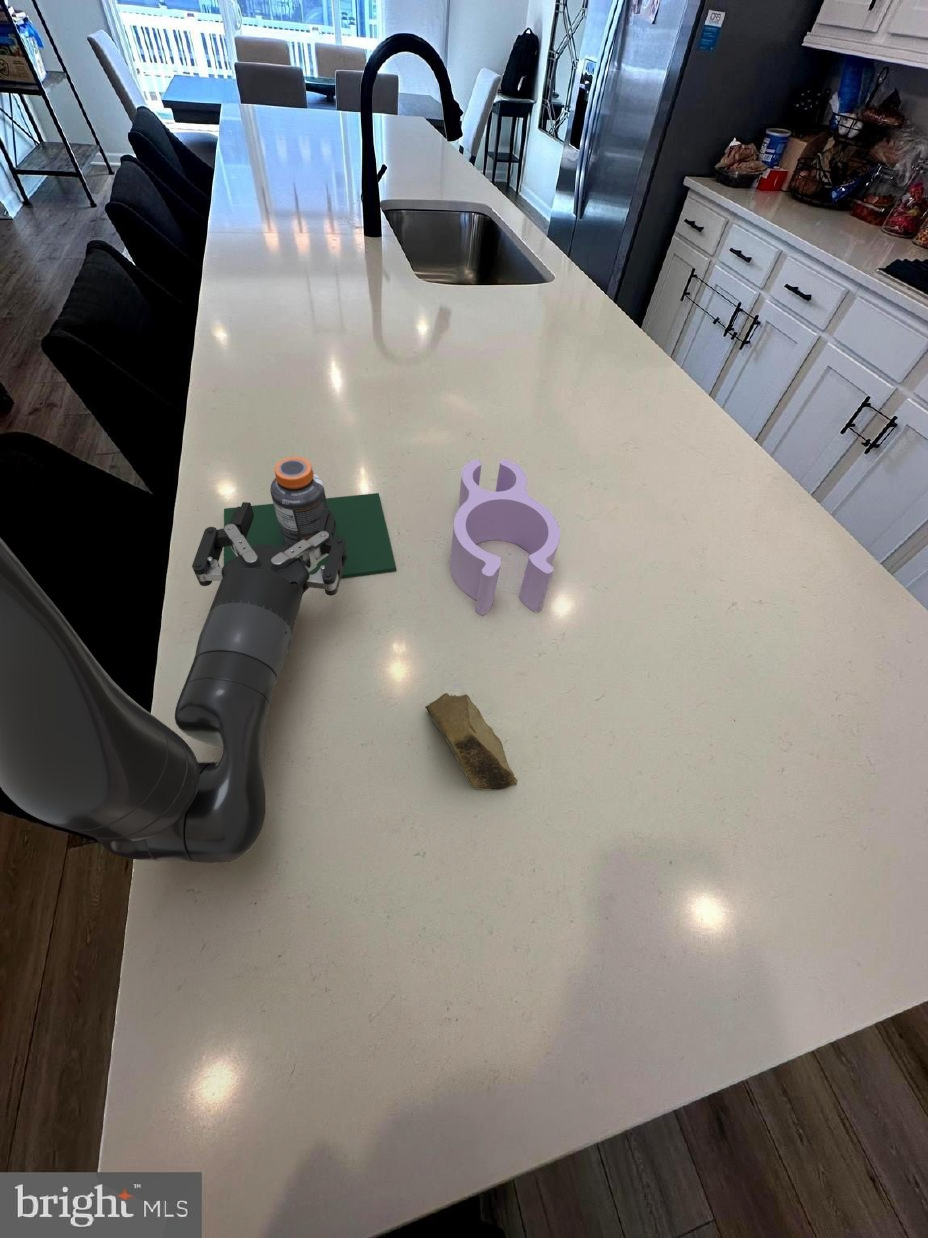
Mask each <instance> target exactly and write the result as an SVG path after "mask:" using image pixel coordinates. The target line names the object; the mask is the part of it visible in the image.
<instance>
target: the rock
mask: <svg viewBox="0 0 928 1238" xmlns="http://www.w3.org/2000/svg"><path fill="white" fill-rule="evenodd" d="M424 708H425V709H426V712H427V714H428V715H429V716H430V718H431V719H432V721H433V723H434V724H435V725H436V726H437V728H438V729H439V731H440V733H441V735H442V736H443V738H444V739H445V741H446V742H447V744H448V745H449V747H450V748H451V751H452V754H453V756H454V757H455V758H456V760H457V762H458V765H459V767H461V769H462V771H463V772H464V773H465V776H466V778H467V781H468V783H469V785H470V786H471V787H472V788H473V789H475V790H483V791H484V790H487V791H489V790H491V791H492V790H493V791H494V790H495V791H496V790H497V791H498V790H504V789H507V788H509V787H512V786H516V785H517V784H518V779H517V777H516V776H515V774H514V771H513V770H512V769H511V768H510V765H509V763H508V760H507V756H506V752H505V749H504V746H503V743H502V740H501V738H500V737H498V736H497V735H496V733H495V731H494V729H493V727H492V726H491V725H489V724H488V722H486V721H485V718H484V717H483V715H482V713H481V711H480V709H479V708H478V706H477V705H476V704H475V703H473V701H472V699H471V697H470V696H469V695H468V694H466V693H465V694H463V695H456V694H455V695H452V694H451V695H450V694H449V693H448V692H444V693H442V694H441V695H440V696H439V697H438V698H436V699H435V700H433V701H432V702H430V703H429V704H427V705H425V707H424Z"/></svg>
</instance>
